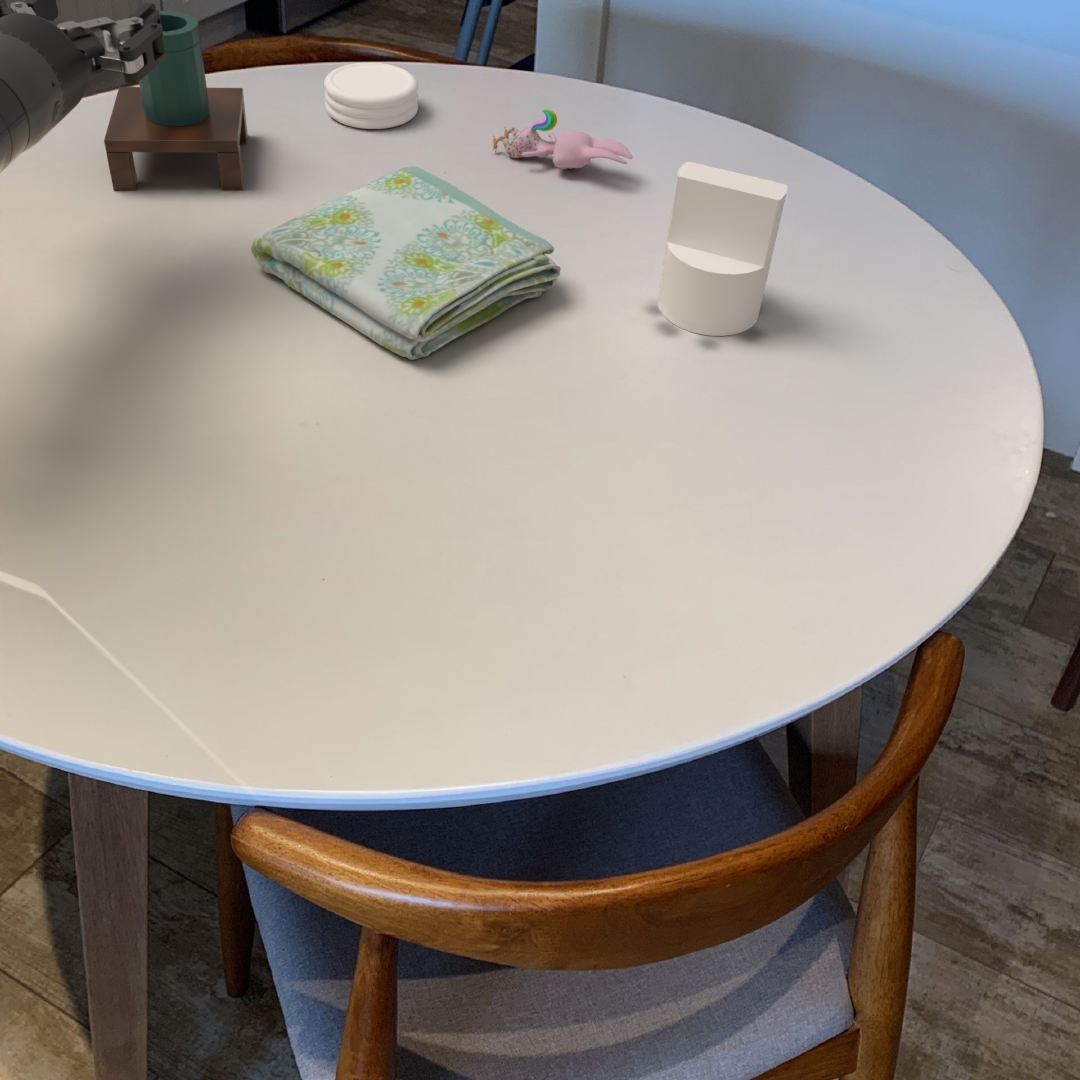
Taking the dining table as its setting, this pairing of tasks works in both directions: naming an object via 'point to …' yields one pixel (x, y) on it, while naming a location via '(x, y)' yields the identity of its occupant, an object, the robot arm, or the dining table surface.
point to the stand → (177, 136)
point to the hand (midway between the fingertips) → (102, 8)
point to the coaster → (371, 95)
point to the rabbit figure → (560, 145)
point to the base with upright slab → (719, 249)
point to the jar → (177, 75)
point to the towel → (408, 261)
